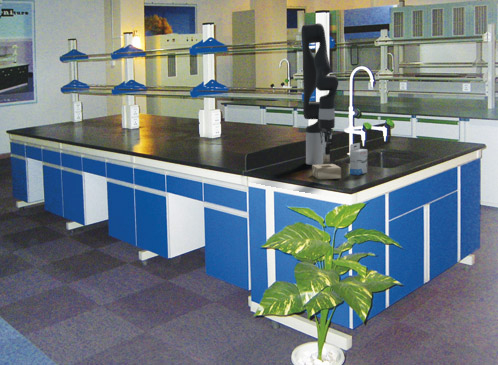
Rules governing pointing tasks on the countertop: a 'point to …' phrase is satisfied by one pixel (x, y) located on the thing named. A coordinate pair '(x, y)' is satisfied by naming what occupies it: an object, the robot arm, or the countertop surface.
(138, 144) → the countertop surface
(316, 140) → the robot arm
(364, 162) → the ink box
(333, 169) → the hole block
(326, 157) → the metal pin
